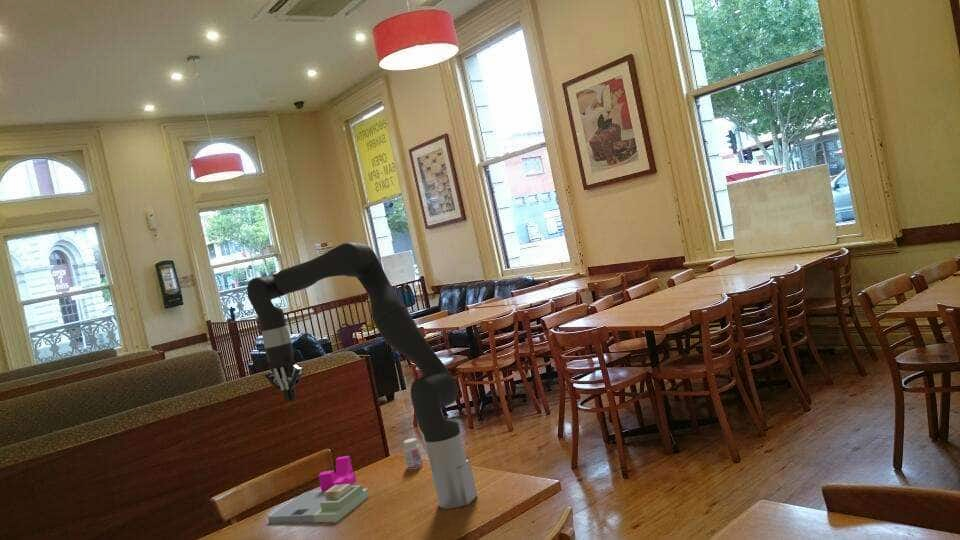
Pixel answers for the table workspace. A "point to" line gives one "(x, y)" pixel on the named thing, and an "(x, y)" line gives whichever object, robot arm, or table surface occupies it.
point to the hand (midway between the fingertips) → (290, 401)
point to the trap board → (319, 507)
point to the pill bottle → (412, 454)
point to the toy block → (338, 474)
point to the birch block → (337, 492)
